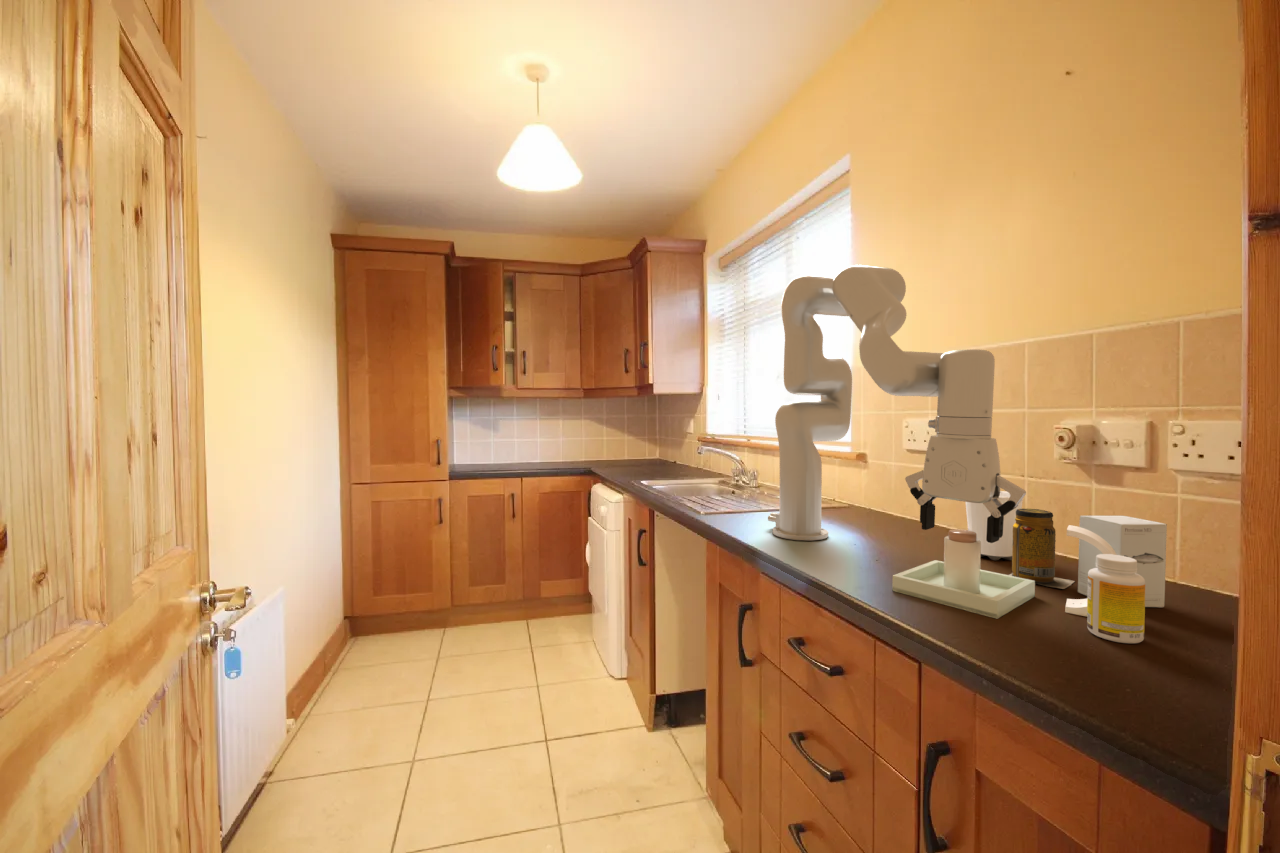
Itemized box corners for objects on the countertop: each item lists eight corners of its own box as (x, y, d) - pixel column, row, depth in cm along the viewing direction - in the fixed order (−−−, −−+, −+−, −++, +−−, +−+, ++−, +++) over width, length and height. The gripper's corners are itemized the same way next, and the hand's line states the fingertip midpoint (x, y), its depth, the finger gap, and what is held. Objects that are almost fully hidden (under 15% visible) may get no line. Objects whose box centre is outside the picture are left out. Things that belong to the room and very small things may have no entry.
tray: (892, 590, 87) (892, 575, 87) (935, 573, 96) (935, 560, 96) (997, 618, 75) (997, 601, 75) (1034, 596, 84) (1034, 580, 84)
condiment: (1016, 570, 98) (1017, 505, 98) (1075, 582, 92) (1076, 512, 91) (1003, 578, 94) (1004, 510, 93) (1063, 591, 87) (1064, 517, 87)
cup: (953, 550, 113) (953, 490, 112) (997, 549, 113) (998, 489, 113) (986, 563, 103) (987, 497, 103) (1035, 562, 103) (1036, 496, 103)
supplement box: (1118, 609, 79) (1120, 523, 79) (1076, 592, 86) (1077, 514, 86) (1167, 608, 79) (1169, 523, 79) (1120, 592, 87) (1122, 514, 86)
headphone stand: (1067, 603, 81) (1068, 524, 81) (1120, 613, 77) (1122, 530, 77) (1064, 612, 78) (1066, 529, 77) (1120, 623, 74) (1122, 536, 73)
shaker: (938, 588, 86) (939, 532, 86) (950, 581, 89) (951, 526, 89) (973, 597, 82) (974, 538, 82) (984, 589, 86) (985, 532, 85)
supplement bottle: (1156, 645, 67) (1158, 563, 66) (1111, 645, 67) (1113, 563, 66) (1117, 627, 72) (1119, 552, 72) (1075, 627, 72) (1077, 552, 72)
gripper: (897, 426, 90) (894, 527, 91) (1018, 432, 76) (1012, 551, 77) (919, 425, 94) (915, 521, 95) (1036, 430, 81) (1031, 543, 82)
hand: (959, 534), depth 86 cm, fingers open, 9 cm apart
